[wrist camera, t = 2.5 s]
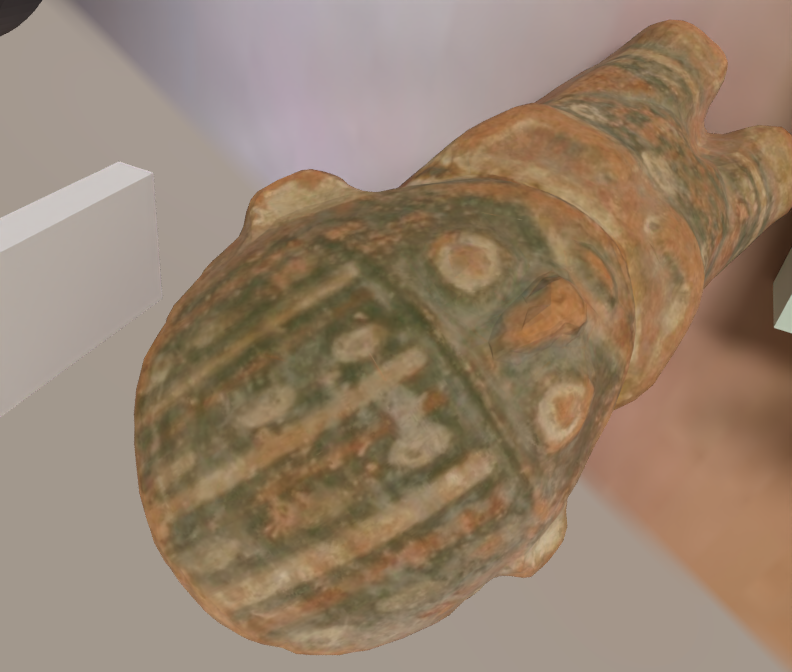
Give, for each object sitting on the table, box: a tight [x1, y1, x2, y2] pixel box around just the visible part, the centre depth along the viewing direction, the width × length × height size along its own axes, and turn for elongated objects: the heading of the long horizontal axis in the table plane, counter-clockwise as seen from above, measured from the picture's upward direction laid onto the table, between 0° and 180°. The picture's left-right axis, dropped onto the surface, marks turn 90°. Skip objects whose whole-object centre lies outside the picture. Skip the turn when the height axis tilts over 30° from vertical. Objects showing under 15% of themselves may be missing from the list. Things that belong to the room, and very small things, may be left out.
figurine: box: [134, 20, 792, 655], centre depth 14 cm, size 8×8×15 cm
